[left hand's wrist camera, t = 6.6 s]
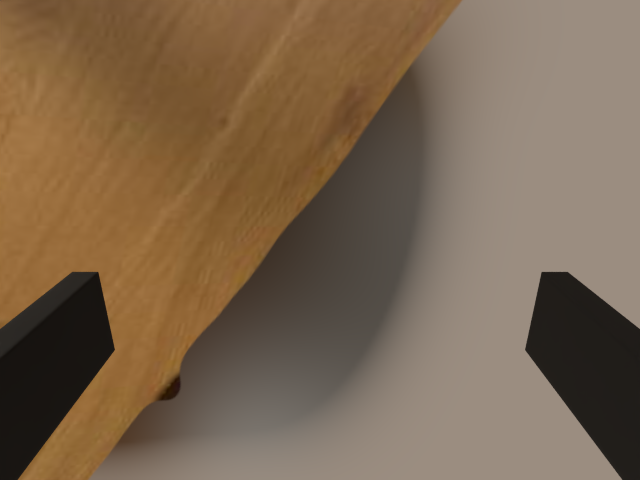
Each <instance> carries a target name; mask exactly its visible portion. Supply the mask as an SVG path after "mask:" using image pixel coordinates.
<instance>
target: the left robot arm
mask: <svg viewBox="0 0 640 480" xmlns="http://www.w3.org/2000/svg"><path fill="white" fill-rule="evenodd" d="M114 350H115V348H114V344H113V339H112V334H111V330H110V325H109V320H108V316H107V311H106V306H105V301H104V297H103V292H102V287H101V283H100V278H99V273H98V272H72V273H70V274H69V275H68V276H67V277H65V278H64V279H63V280H62V281H60V282H59V283H58V284H57V285H55V286H54V287H53V288H52V289H50V290H49V291H48V292H46V293H45V294H44V295H43V296H41V297H40V298H39V299H38V300H36V301H35V302H34V303H33V304H31V305H30V306H29V307H28V308H26V309H25V310H24V311H22V312H21V313H20V314H19V315H17V316H16V317H15V318H14V319H12V320H11V321H10V322H9V323H7V324H6V325H5V326H4V327H2V328H1V329H0V480H18V478H19V477H20V476H21V474H22V473H23V472H24V470H25V469H26V468H27V466H28V465H29V464H30V462H31V461H32V460H33V458H34V457H35V456H36V454H37V453H38V452H39V450H40V449H41V448H42V446H43V445H44V444H45V442H46V441H47V440H48V438H49V437H50V436H51V434H52V433H53V432H54V430H55V429H56V428H57V426H58V425H59V424H60V422H61V421H62V420H63V418H64V417H65V416H66V414H67V413H68V412H69V410H70V409H71V408H72V406H73V405H74V404H75V402H76V401H77V400H78V398H79V397H80V396H81V394H82V393H83V392H84V390H85V389H86V388H87V386H88V385H89V384H90V382H91V381H92V380H93V378H94V377H95V376H96V374H97V373H98V372H99V370H100V369H101V368H102V366H103V365H104V364H105V362H106V361H107V360H108V358H109V357H110V356H111V354H112V353H113V352H114ZM525 350H526V352H527V353H528V354H529V356H530V357H531V358H532V360H533V361H534V362H535V364H536V365H537V366H538V368H539V369H540V370H541V372H542V373H543V374H544V376H545V377H546V378H547V380H548V381H549V382H550V384H551V385H552V386H553V388H554V389H555V390H556V392H557V393H558V394H559V396H560V397H561V398H562V400H563V401H564V402H565V404H566V405H567V406H568V408H569V409H570V410H571V412H572V413H573V414H574V416H575V417H576V418H577V420H578V421H579V422H580V424H581V425H582V426H583V428H584V429H585V430H586V432H587V433H588V434H589V436H590V437H591V438H592V440H593V441H594V442H595V444H596V445H597V446H598V448H599V449H600V450H601V452H602V453H603V454H604V456H605V457H606V458H607V460H608V461H609V462H610V464H611V465H612V466H613V468H614V469H615V470H616V472H617V473H618V474H619V476H620V477H621V478H622V480H640V329H639V328H638V327H636V326H635V325H634V324H633V323H631V322H630V321H629V320H628V319H626V318H625V317H624V316H622V315H621V314H620V313H619V312H617V311H616V310H615V309H614V308H612V307H611V306H610V305H609V304H607V303H606V302H605V301H604V300H602V299H601V298H600V297H599V296H597V295H596V294H595V293H594V292H592V291H591V290H590V289H588V288H587V287H586V286H585V285H583V284H582V283H581V282H580V281H578V280H577V279H576V278H575V277H573V276H572V275H571V274H569V273H568V272H542V273H541V278H540V283H539V287H538V292H537V297H536V301H535V306H534V311H533V316H532V320H531V325H530V330H529V335H528V339H527V344H526V348H525Z"/></svg>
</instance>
